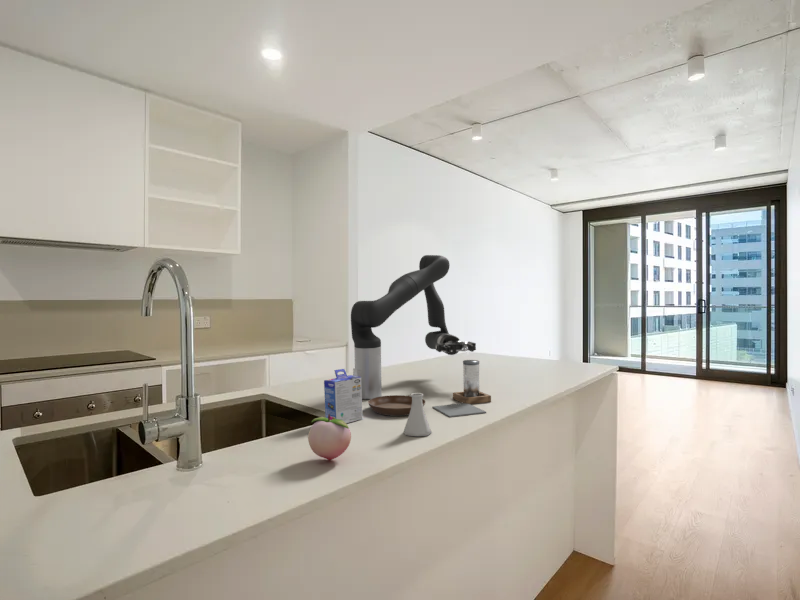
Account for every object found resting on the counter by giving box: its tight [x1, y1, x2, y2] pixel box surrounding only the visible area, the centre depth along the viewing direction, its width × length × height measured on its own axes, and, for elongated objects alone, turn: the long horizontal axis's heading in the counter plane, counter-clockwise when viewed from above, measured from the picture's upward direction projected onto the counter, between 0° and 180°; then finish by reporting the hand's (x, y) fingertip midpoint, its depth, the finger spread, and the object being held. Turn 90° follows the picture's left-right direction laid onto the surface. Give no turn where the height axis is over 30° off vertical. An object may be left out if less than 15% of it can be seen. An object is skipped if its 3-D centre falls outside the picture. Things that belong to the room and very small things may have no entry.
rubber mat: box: [432, 402, 487, 418], centre depth 140 cm, size 12×12×1 cm
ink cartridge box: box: [323, 368, 363, 424], centre depth 129 cm, size 10×6×14 cm, turn 137°
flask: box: [403, 392, 433, 437], centre depth 118 cm, size 7×7×10 cm
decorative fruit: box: [307, 414, 352, 461], centre depth 99 cm, size 9×8×10 cm
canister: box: [462, 359, 480, 397], centre depth 152 cm, size 5×5×13 cm
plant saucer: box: [367, 394, 427, 417], centre depth 141 cm, size 18×18×3 cm
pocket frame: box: [452, 390, 492, 405], centre depth 152 cm, size 9×9×2 cm
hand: (461, 349), depth 163 cm, fingers open, 8 cm apart
